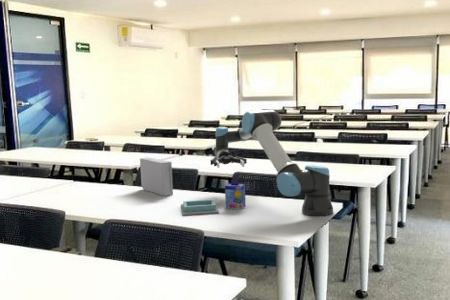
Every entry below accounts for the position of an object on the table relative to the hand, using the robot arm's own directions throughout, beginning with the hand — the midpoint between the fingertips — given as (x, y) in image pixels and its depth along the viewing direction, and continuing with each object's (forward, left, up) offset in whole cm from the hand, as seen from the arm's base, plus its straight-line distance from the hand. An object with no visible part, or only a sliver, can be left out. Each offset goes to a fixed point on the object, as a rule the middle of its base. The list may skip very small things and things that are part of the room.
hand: (231, 165), depth 266 cm
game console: (+40, +41, -21) cm, 61 cm away
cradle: (-9, +19, -21) cm, 30 cm away
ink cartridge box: (-9, 0, -21) cm, 23 cm away
